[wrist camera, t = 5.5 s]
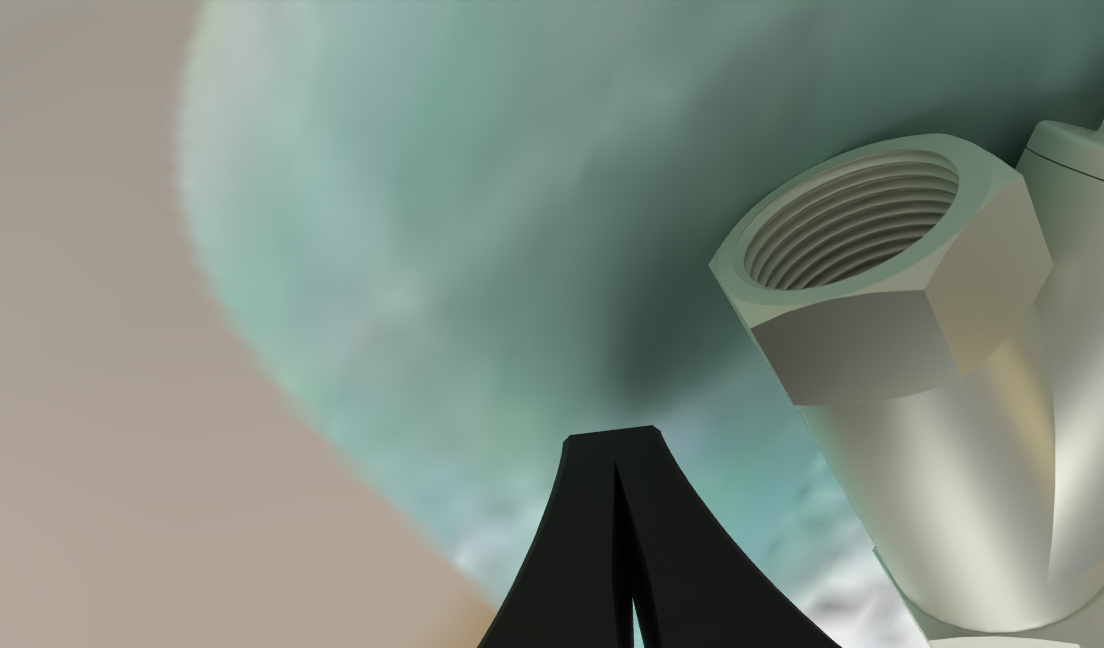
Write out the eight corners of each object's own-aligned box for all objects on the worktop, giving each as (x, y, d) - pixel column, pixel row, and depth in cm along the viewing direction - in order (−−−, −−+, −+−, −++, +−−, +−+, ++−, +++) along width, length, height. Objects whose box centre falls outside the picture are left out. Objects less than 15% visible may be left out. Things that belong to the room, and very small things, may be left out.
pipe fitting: (1127, -30, 11) (687, 231, 12) (1432, -5, 7) (771, 359, 9) (1229, 389, 14) (877, 561, 15) (1470, 542, 11) (993, 749, 12)
